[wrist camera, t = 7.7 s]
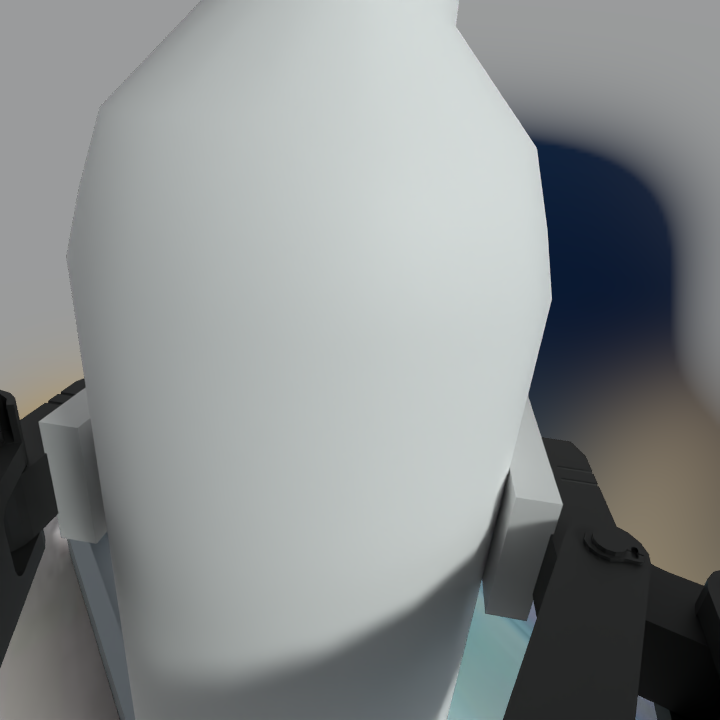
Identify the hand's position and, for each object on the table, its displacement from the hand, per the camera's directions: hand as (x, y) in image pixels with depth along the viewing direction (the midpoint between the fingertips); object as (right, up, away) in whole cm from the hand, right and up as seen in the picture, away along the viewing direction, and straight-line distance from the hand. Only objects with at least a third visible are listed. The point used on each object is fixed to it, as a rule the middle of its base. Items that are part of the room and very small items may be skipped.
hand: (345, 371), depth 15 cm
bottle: (-2, -16, +2) cm, 16 cm away
